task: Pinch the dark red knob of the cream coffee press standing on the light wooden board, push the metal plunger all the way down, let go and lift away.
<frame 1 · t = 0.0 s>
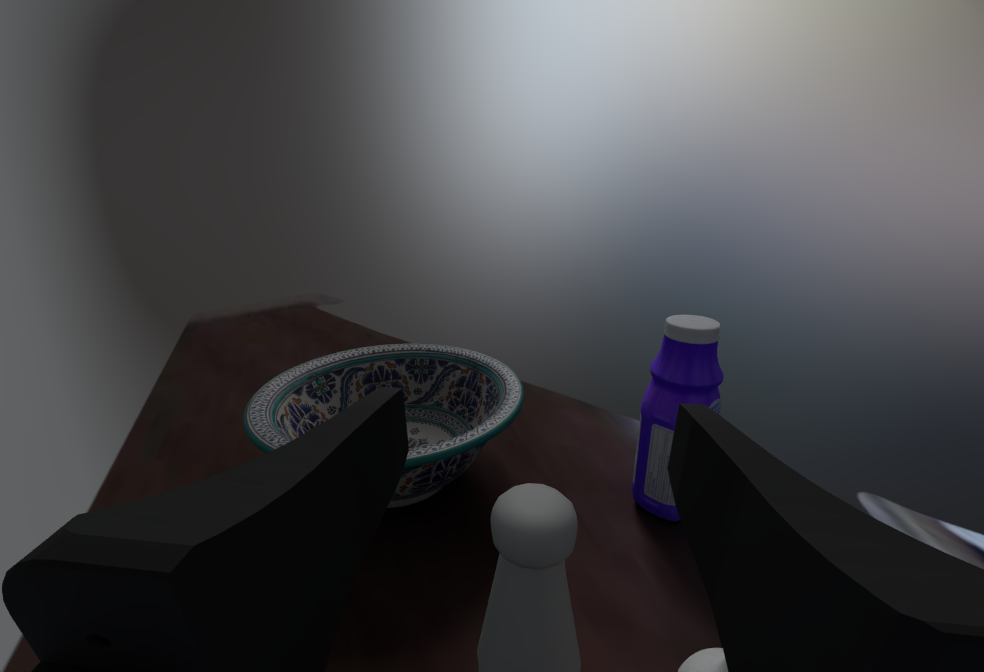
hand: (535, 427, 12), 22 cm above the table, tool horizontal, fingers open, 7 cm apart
bowl: (398, 474, 46), on the table
bottle: (666, 502, 42), on the table
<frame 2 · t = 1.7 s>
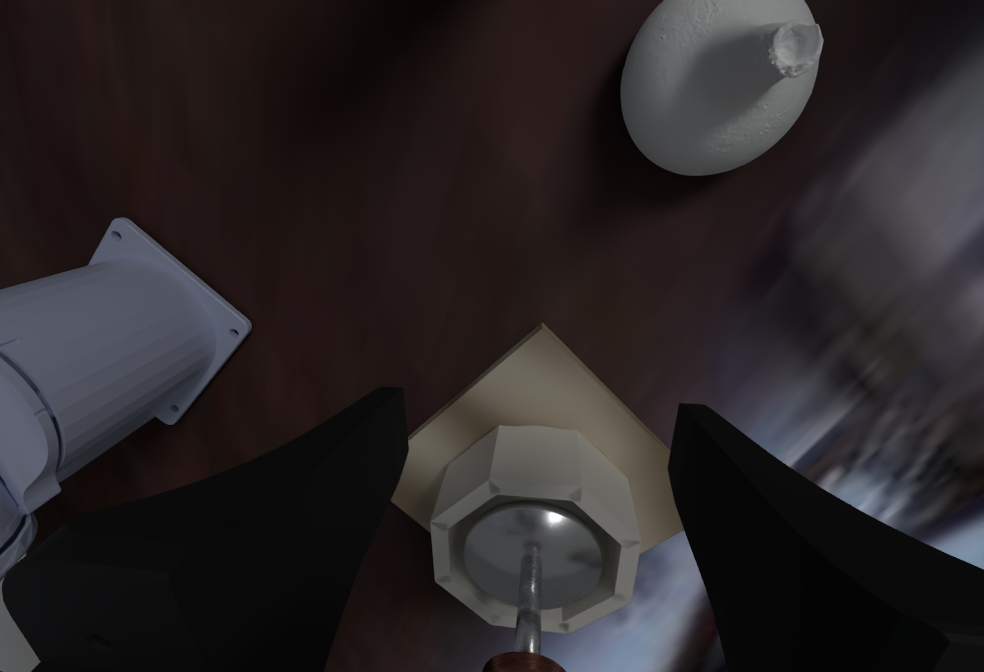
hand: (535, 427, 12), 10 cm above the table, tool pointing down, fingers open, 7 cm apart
board: (535, 483, 26), on the table
garlic bulb: (698, 86, 18), on the table
press carafe: (533, 524, 23), on the board, point 3 cm above the table
plunger: (528, 631, 18), point 8 cm above the table, slide at 0.0 cm
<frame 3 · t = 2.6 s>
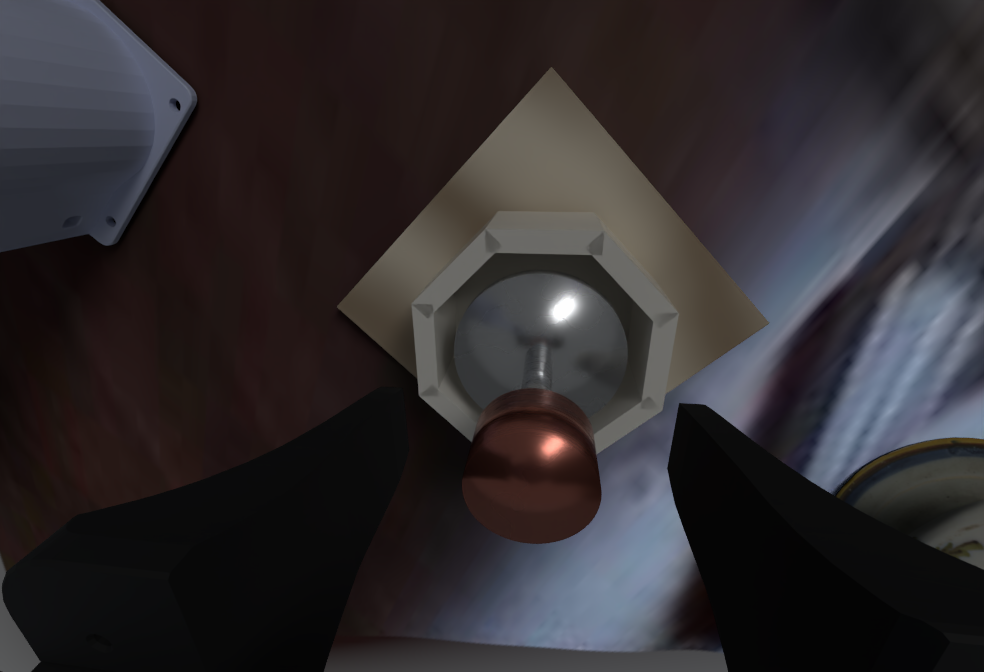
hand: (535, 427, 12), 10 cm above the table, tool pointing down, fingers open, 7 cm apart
board: (541, 308, 22), on the table
apothecary jar: (927, 511, 24), on the table
press carafe: (540, 333, 19), on the board, point 3 cm above the table
plunger: (535, 404, 14), point 9 cm above the table, slide at 0.0 cm
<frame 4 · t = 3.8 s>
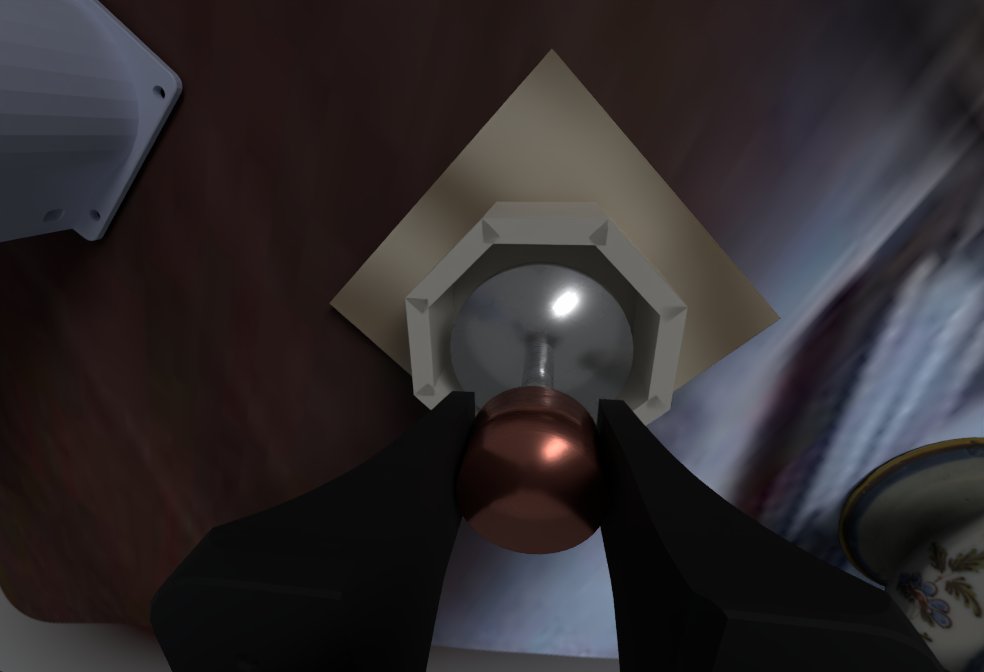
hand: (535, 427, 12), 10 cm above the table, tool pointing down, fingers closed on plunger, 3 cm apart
board: (542, 304, 21), on the table
apothecary jar: (943, 514, 23), on the table
press carafe: (541, 330, 18), on the board, point 3 cm above the table
plunger: (536, 403, 13), point 8 cm above the table, slide at 0.0 cm, touching gripper
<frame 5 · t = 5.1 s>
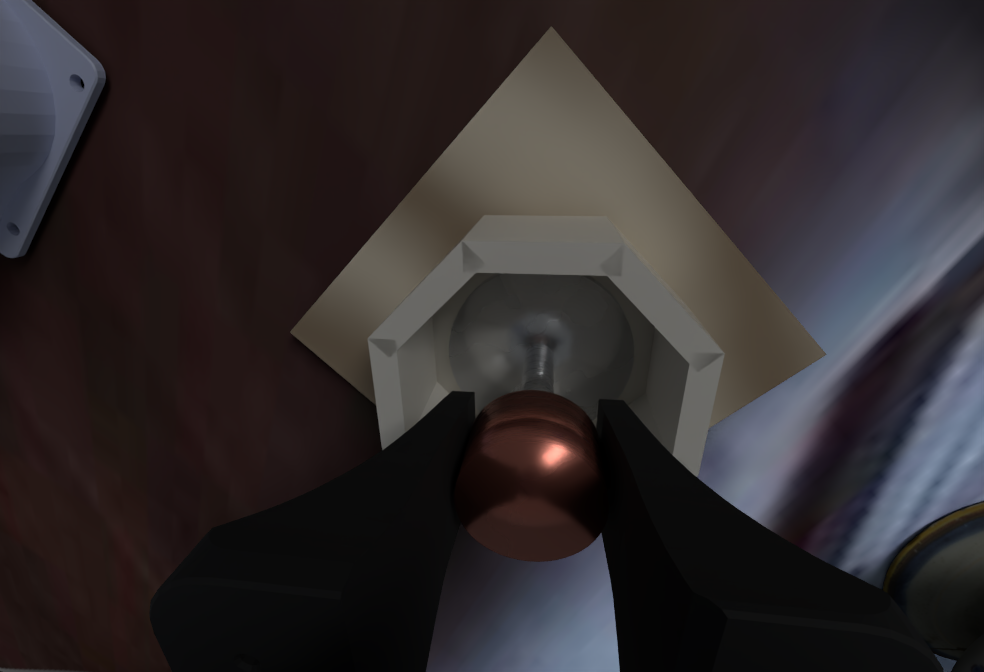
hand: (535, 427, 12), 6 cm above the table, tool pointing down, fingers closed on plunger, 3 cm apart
board: (540, 334, 18), on the table
press carafe: (538, 371, 15), on the board, point 3 cm above the table
plunger: (536, 406, 13), point 5 cm above the table, slide at 3.3 cm, touching gripper
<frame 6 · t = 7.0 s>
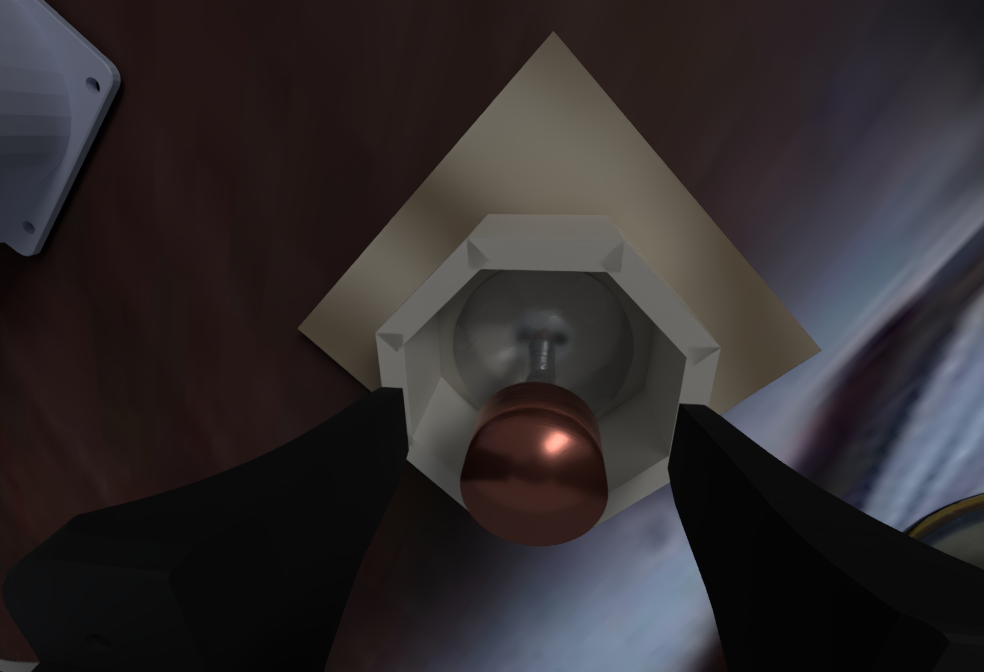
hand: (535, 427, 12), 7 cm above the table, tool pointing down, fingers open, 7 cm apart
board: (542, 330, 18), on the table
press carafe: (540, 365, 15), on the board, point 3 cm above the table
plunger: (538, 399, 13), point 5 cm above the table, slide at 3.3 cm
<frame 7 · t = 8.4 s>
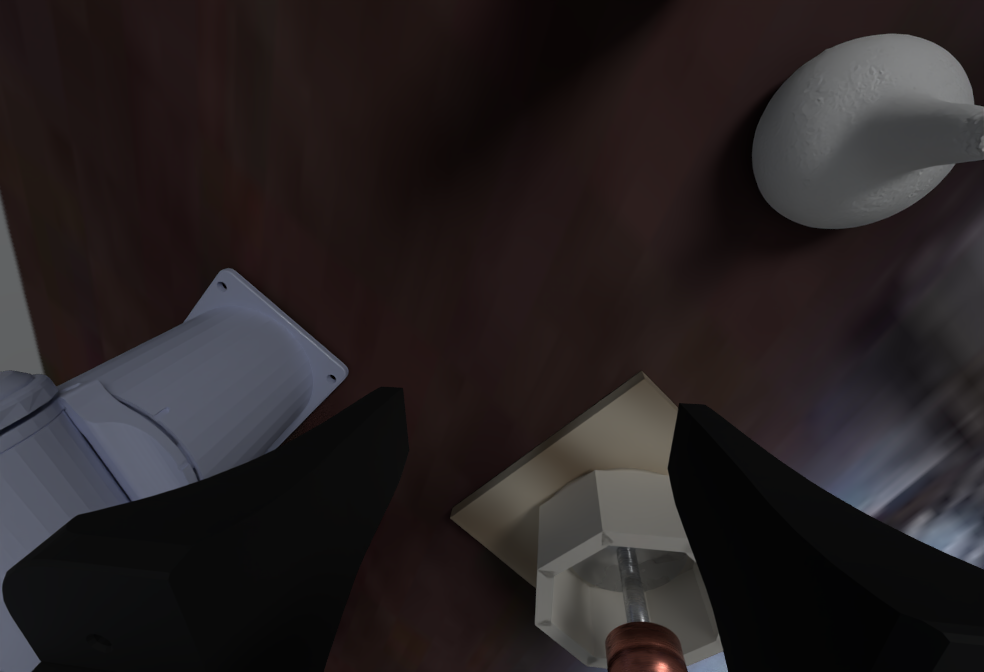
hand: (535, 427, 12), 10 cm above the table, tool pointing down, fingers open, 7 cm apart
board: (620, 522, 26), on the table
garlic bulb: (826, 139, 18), on the table
press carafe: (628, 567, 23), on the board, point 3 cm above the table
plunger: (635, 607, 21), point 5 cm above the table, slide at 3.3 cm
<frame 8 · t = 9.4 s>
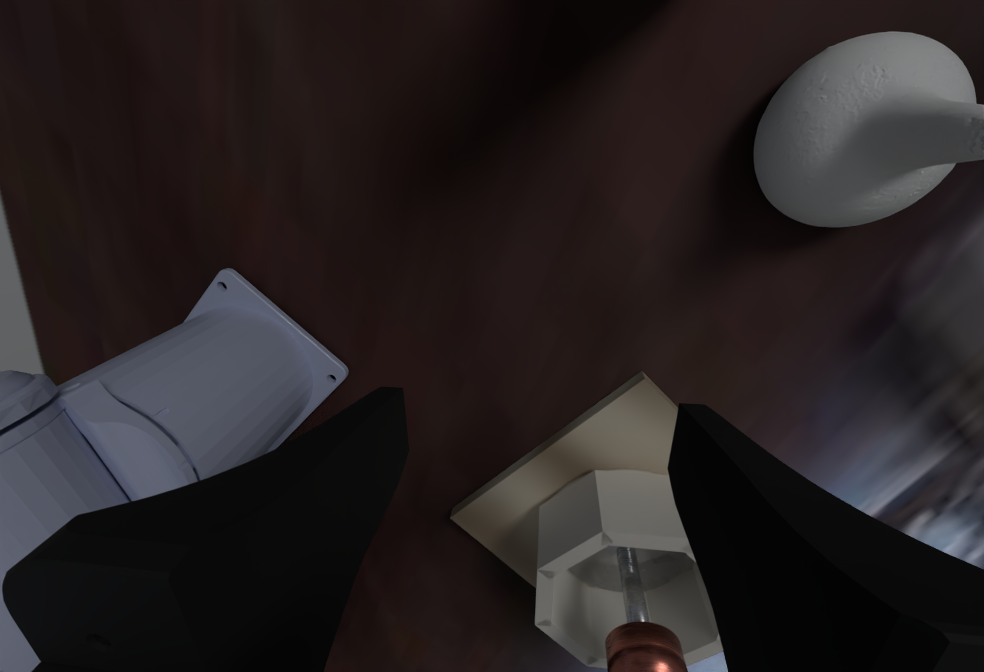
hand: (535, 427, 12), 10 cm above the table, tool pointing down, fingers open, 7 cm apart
board: (620, 522, 26), on the table
garlic bulb: (828, 137, 18), on the table
press carafe: (628, 567, 23), on the board, point 3 cm above the table
plunger: (635, 607, 21), point 5 cm above the table, slide at 3.3 cm
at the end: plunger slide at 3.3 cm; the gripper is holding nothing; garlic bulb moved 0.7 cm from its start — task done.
